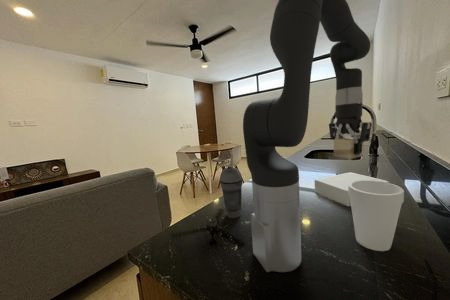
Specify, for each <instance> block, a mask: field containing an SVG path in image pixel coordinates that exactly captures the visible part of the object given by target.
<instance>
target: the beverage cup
mask: <svg viewBox="0 0 450 300" xmlns="http://www.w3.org/2000/svg"><path fill="white" fill-rule="evenodd" d="M233 157H234V156H233V153H230V166H228V167H226V168H224V169H223V170H222V171H221V173H220V175H219V176H220V177H219V184H220V187H221V190H222V196H223V201H224V208H225V212H226V216H227V217H228V218H231V219H236V218H239V217H241V215H242V189H243V188H242V186H243V181H244V180H243V176H242V173H241V171H240V170H239V169H238V168H236V167H235V166H233Z"/></svg>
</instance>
